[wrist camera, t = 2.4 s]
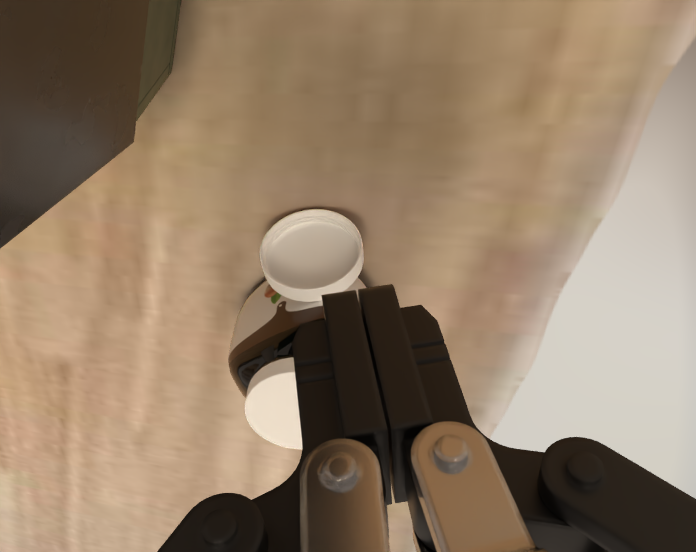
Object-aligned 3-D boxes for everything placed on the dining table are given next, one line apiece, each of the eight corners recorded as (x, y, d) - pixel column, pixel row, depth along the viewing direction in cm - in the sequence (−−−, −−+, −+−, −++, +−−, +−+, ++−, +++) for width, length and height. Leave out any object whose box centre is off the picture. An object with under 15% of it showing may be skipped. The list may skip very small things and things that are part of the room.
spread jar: (284, 356, 54) (268, 474, 44) (197, 255, 48) (157, 365, 39) (416, 296, 50) (429, 411, 41) (338, 180, 45) (332, 280, 35)
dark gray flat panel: (-149, 330, 19) (-116, 341, 19) (-250, -222, 12) (-197, -204, 12) (114, 135, 33) (134, 142, 33) (143, -182, 25) (168, -173, 25)
